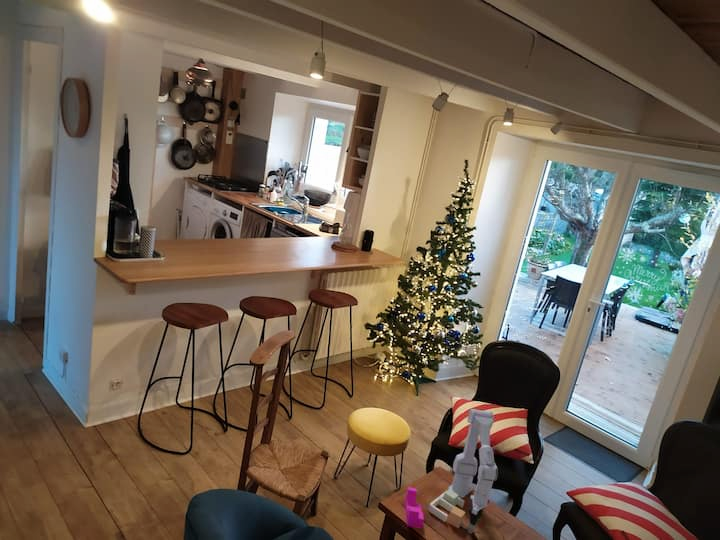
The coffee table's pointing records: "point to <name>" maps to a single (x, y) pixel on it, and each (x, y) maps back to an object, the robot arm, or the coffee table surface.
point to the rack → (444, 504)
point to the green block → (451, 497)
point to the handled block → (459, 519)
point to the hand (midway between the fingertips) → (475, 519)
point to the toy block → (413, 509)
